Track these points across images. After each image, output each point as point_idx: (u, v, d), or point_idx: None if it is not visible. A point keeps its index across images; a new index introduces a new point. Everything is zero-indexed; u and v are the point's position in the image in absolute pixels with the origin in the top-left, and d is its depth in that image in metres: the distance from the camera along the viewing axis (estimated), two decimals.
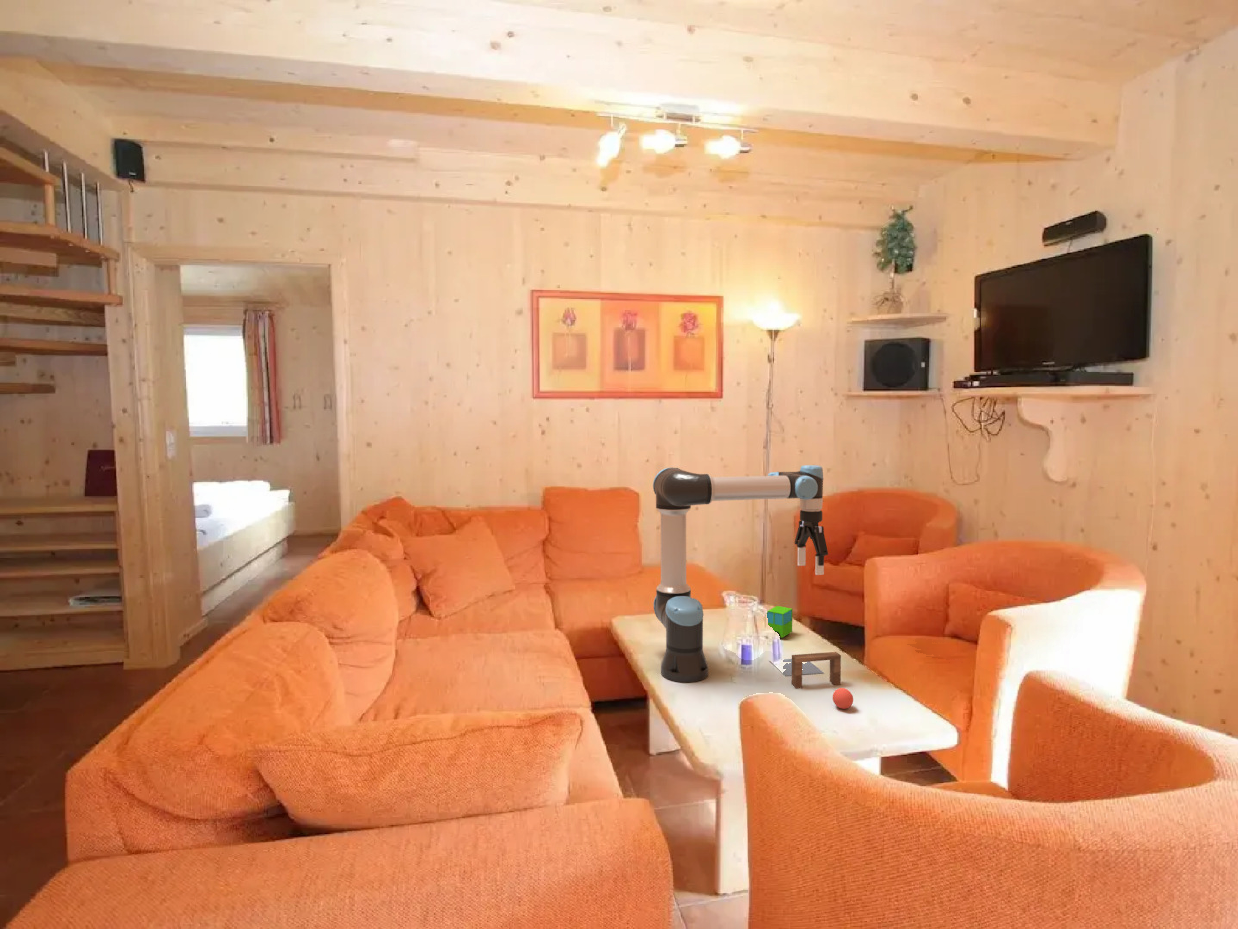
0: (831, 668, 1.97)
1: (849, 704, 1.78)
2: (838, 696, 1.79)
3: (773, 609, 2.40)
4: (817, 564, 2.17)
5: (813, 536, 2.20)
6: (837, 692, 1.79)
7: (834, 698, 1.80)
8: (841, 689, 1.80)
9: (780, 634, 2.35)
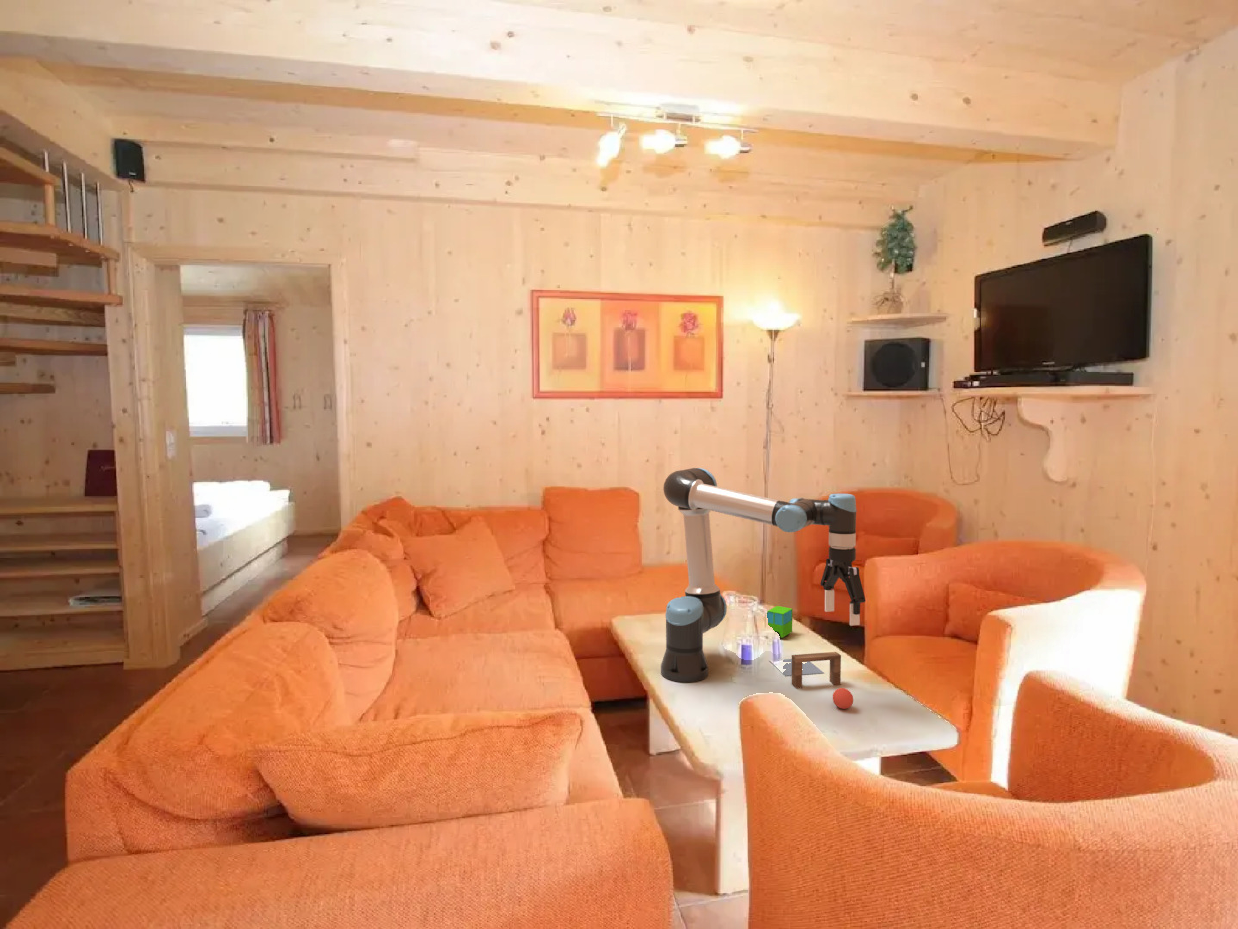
0: (831, 668, 1.97)
1: (849, 704, 1.78)
2: (838, 696, 1.79)
3: (773, 609, 2.40)
4: (852, 613, 1.82)
5: (846, 579, 1.85)
6: (837, 692, 1.79)
7: (834, 698, 1.80)
8: (841, 689, 1.80)
9: (780, 634, 2.35)
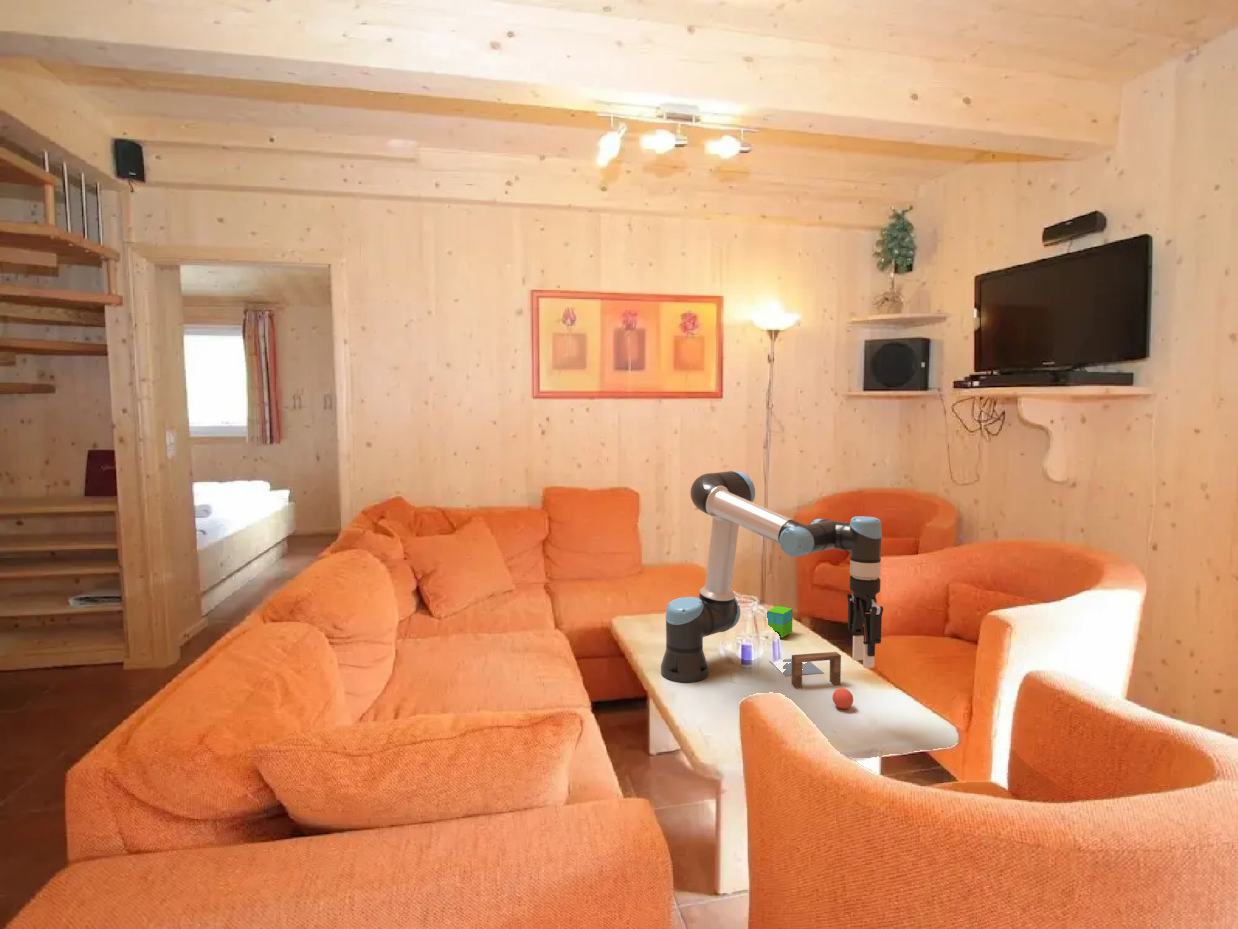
0: (831, 668, 1.97)
1: (849, 704, 1.78)
2: (838, 696, 1.79)
3: (773, 609, 2.40)
4: (866, 654, 1.66)
5: (866, 615, 1.66)
6: (837, 692, 1.79)
7: (834, 698, 1.80)
8: (841, 689, 1.80)
9: (780, 634, 2.35)
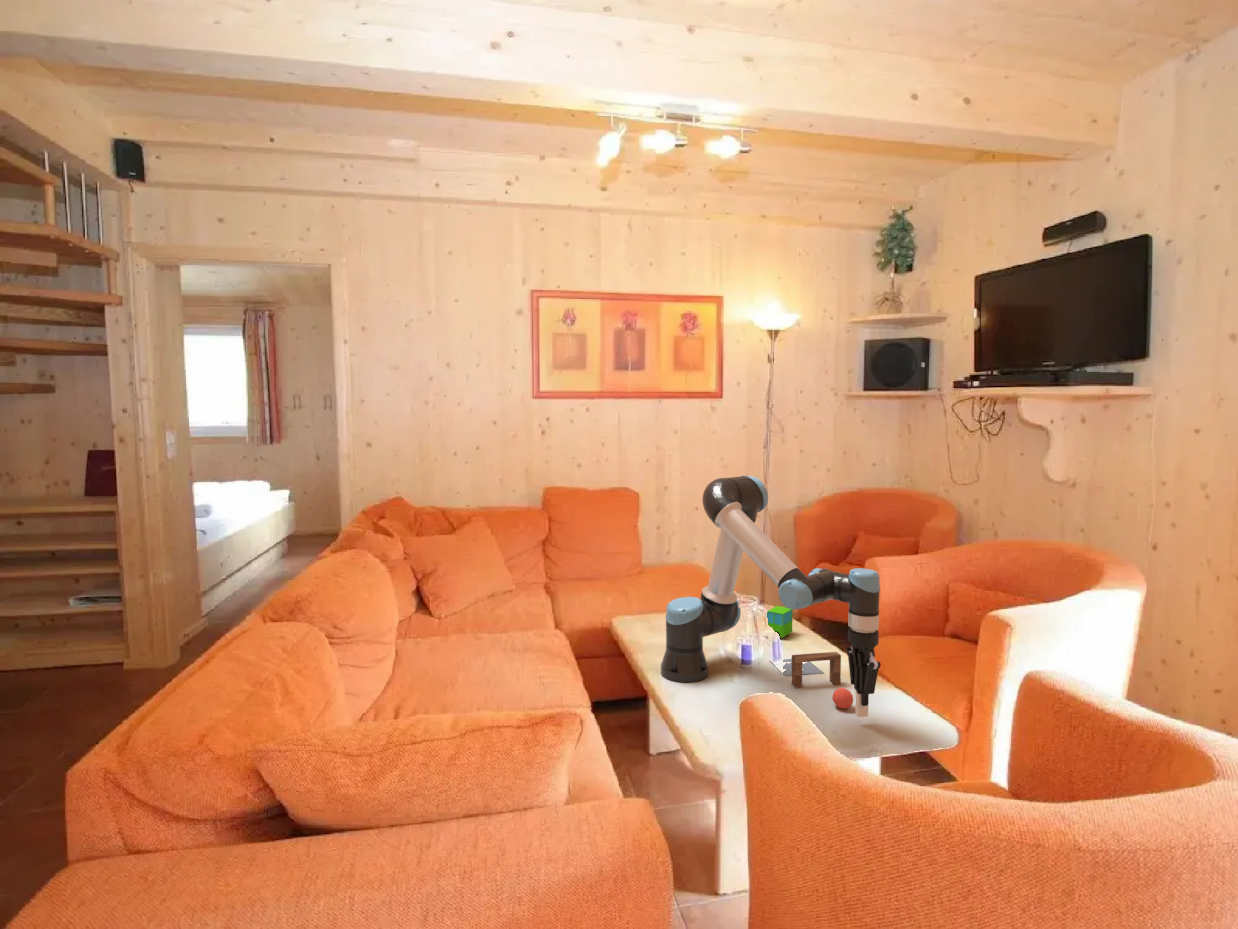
0: (831, 668, 1.97)
1: (849, 704, 1.78)
2: (838, 696, 1.79)
3: (773, 609, 2.40)
4: (860, 703, 1.69)
5: (863, 667, 1.68)
6: (837, 692, 1.79)
7: (834, 698, 1.80)
8: (841, 689, 1.80)
9: (780, 634, 2.35)
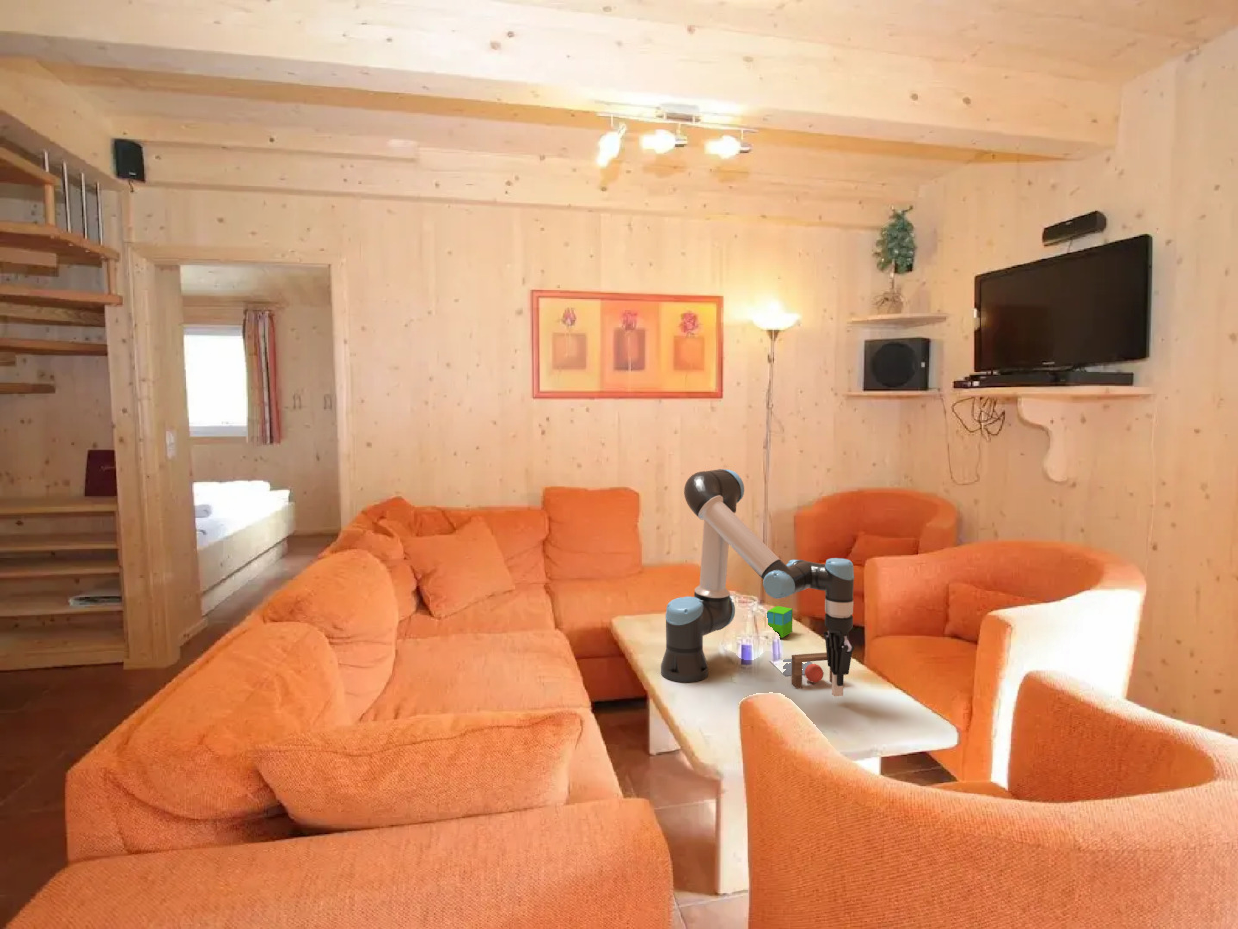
0: None
1: (819, 678, 1.96)
2: (809, 671, 1.96)
3: (773, 609, 2.40)
4: (835, 684, 1.82)
5: (838, 650, 1.80)
6: (809, 667, 1.97)
7: (806, 673, 1.97)
8: (812, 664, 1.98)
9: (780, 634, 2.35)
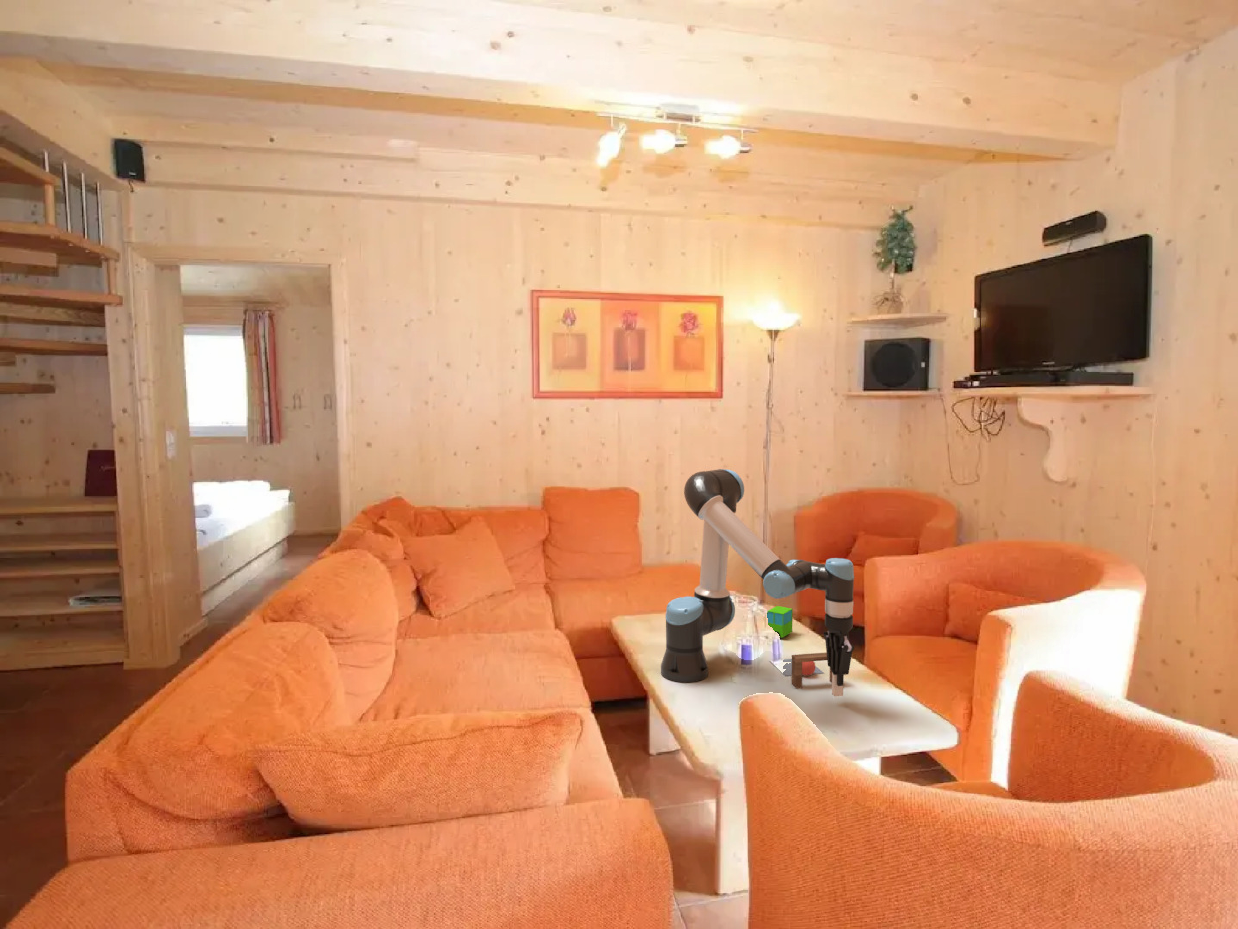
0: None
1: None
2: None
3: (773, 609, 2.40)
4: (835, 684, 1.82)
5: (838, 650, 1.80)
6: None
7: None
8: None
9: (780, 634, 2.35)
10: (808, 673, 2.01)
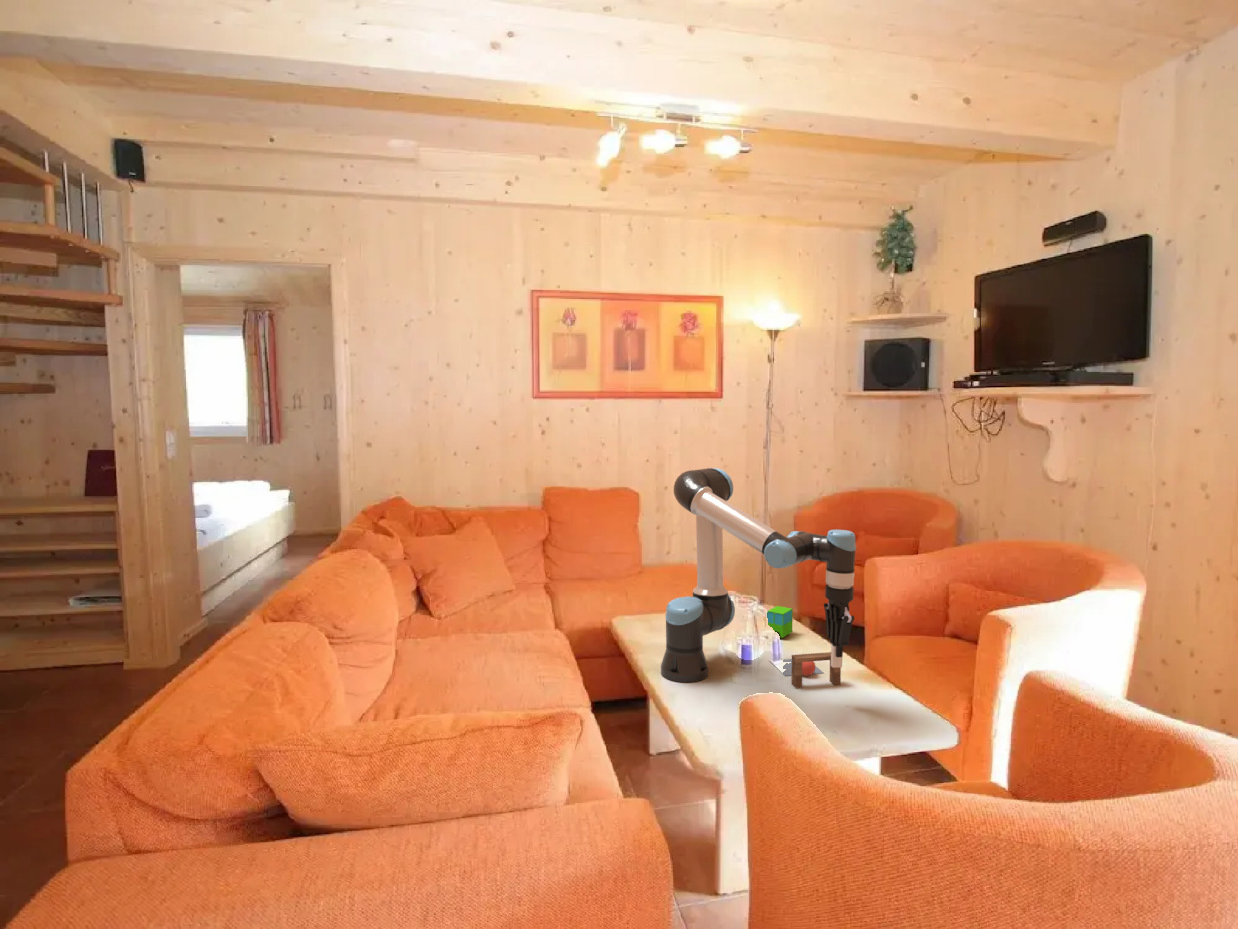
0: (831, 668, 1.97)
1: None
2: None
3: (773, 609, 2.40)
4: (834, 655, 1.82)
5: (838, 621, 1.80)
6: None
7: None
8: None
9: (780, 634, 2.35)
10: (808, 673, 2.01)
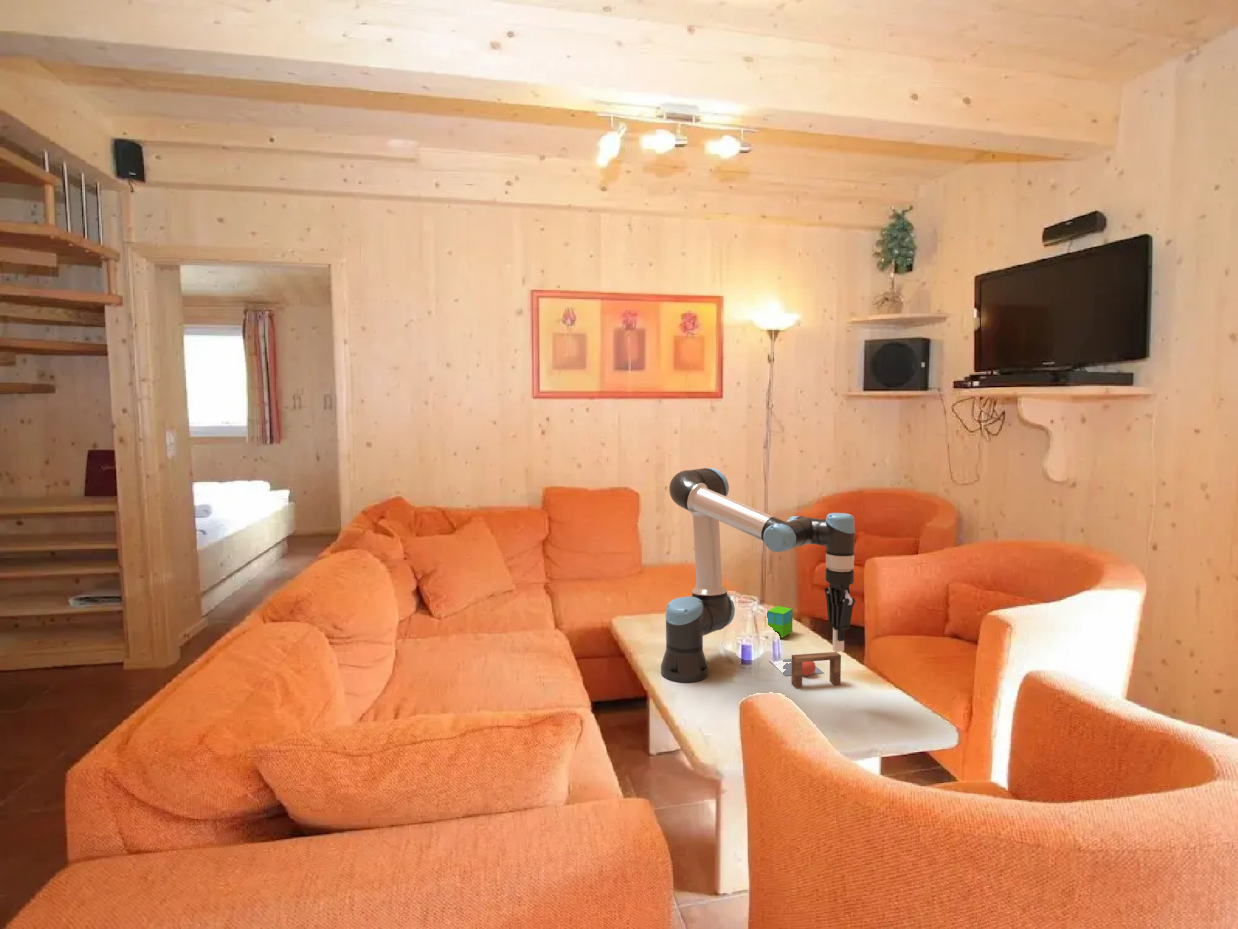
0: (831, 668, 1.97)
1: None
2: None
3: (773, 609, 2.40)
4: (836, 639, 1.81)
5: (839, 605, 1.79)
6: None
7: None
8: None
9: (780, 634, 2.35)
10: (808, 673, 2.01)
